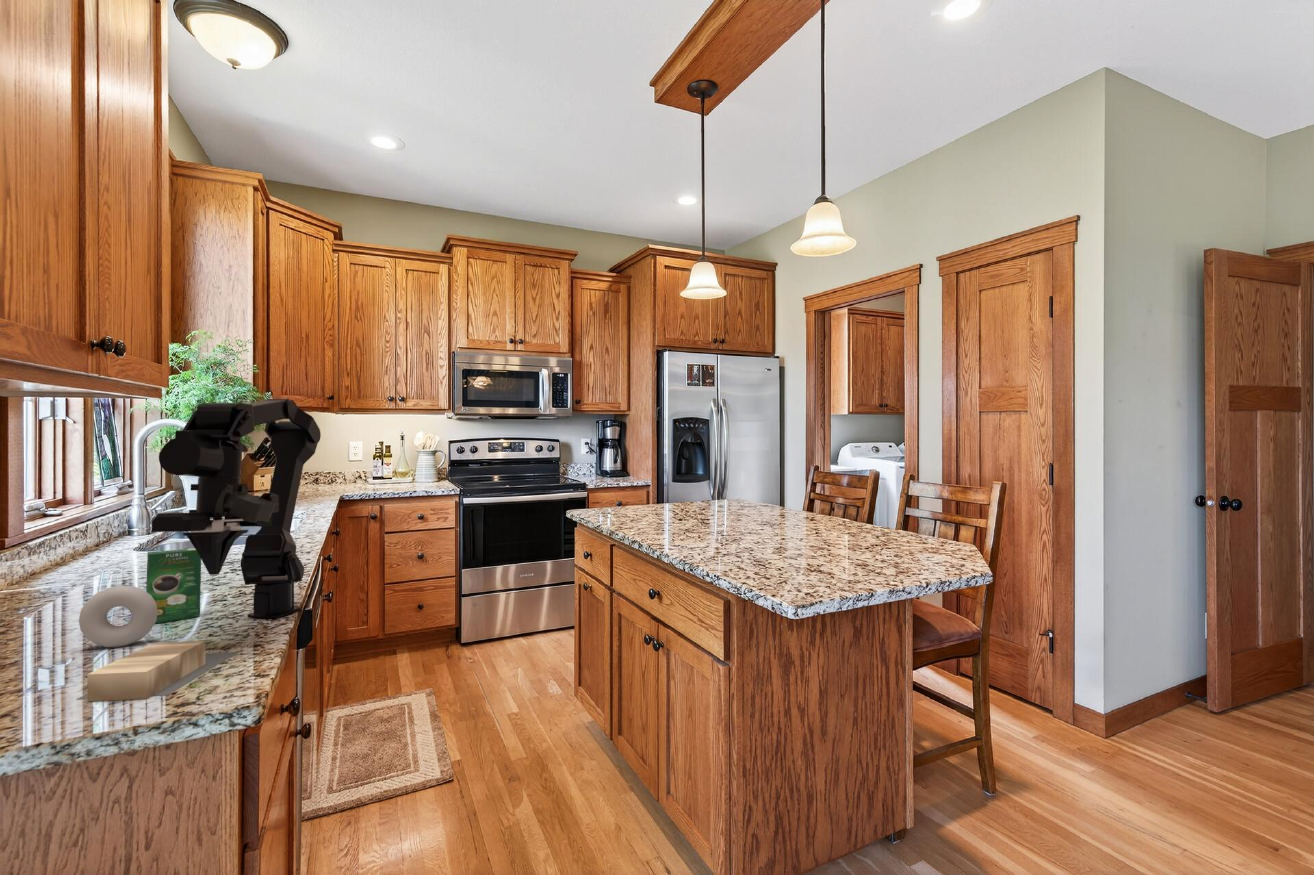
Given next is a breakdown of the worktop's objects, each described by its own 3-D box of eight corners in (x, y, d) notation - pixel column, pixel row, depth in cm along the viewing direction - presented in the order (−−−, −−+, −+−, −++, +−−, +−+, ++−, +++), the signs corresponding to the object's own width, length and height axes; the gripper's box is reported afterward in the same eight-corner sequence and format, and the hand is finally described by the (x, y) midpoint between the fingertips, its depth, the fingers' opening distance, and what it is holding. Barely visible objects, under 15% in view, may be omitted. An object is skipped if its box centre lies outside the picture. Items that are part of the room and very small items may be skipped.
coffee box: (200, 613, 117) (199, 546, 117) (202, 616, 115) (201, 548, 115) (145, 622, 112) (145, 551, 112) (146, 626, 110) (146, 553, 110)
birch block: (154, 642, 90) (87, 674, 78) (205, 640, 91) (146, 671, 79) (154, 666, 90) (87, 701, 78) (205, 664, 91) (146, 698, 79)
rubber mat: (163, 656, 94) (163, 655, 94) (238, 653, 96) (238, 652, 96) (76, 700, 79) (76, 699, 79) (167, 696, 80) (167, 695, 80)
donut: (161, 639, 102) (160, 580, 102) (153, 645, 99) (153, 584, 99) (84, 647, 98) (84, 586, 98) (74, 654, 95) (74, 591, 95)
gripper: (222, 474, 90) (216, 581, 88) (303, 479, 109) (299, 567, 107) (151, 476, 91) (144, 582, 89) (243, 480, 109) (239, 568, 108)
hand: (214, 574), depth 98 cm, fingers closed
